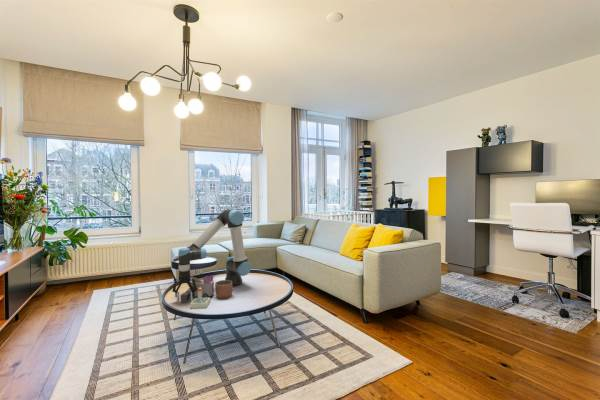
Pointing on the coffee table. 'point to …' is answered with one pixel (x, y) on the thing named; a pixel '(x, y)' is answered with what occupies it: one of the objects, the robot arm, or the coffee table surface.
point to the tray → (199, 305)
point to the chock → (184, 297)
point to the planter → (223, 289)
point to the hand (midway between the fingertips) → (185, 301)
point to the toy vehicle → (207, 287)
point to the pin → (199, 294)
